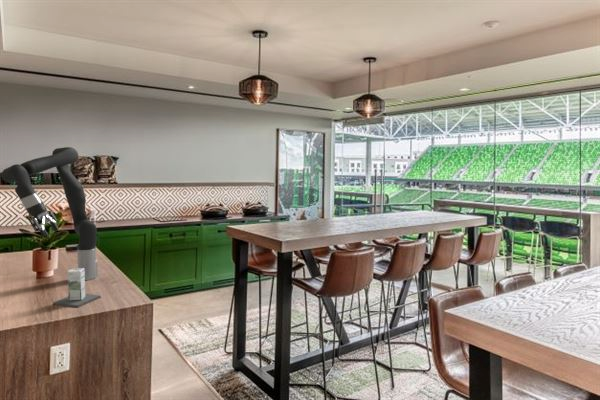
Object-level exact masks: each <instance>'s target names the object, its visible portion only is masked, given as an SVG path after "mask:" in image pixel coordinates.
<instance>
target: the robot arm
mask: <svg viewBox="0 0 600 400" xmlns="http://www.w3.org/2000/svg"><path fill="white" fill-rule="evenodd" d="M78 159H79V153H78V151H77V150H76V149H75V148H73V147H71V146H70V147H69V146H67V147H66V146H65V147H58V148H55V149H53V150H52V155H51V154H50V155H48V156H47V155H46V156H41V157H38V158H33V159H30V160H27V161H25V162H22V163H20V164H13V165H11V166H9V167H6V168H4V169H3V170H2V171H1V174H0V175H1V178H2V180H3V181H4V182H7V183H11V184H12V183H15V182H16V184H17V185H16V187H15V188H14V192H15V193H16V195H17V197H18V198H19V200H20V202H21V204H22V206H23V207H24V210H25V211H26V213H27V214H28V215H29V216H30V217H32V219H30V220H29V223H30V225H31V227H32V228H33V230H34V231H35V232H40V234H41V235H42V237H43V238H48V237H49V233H48V232H47V230H46V229H45V225H46V224H49V225H50V227H51V228H52V230H53V231H54V232H57V231H59V227H58V225H57V221H58V218H57V216H55V213H53V211H52V210H51V209H50V210H47V209H48V208H47V207H46V205H45V203H44V202H43V201H42V199H41V196H39V194H38V193H37V192H36V191H35V189H34V187H33V186H32V183H31V182H32V181H31V179H30V177H31V176H35V175H37V174H39V173H43V172H45V171H47V170H51V169H54V168H56V171H57V173H58V176H59V178H60V181H61V185H62V187H63V191H64V196H65V199H66V202H67V204H68V207H69V210H70V213H71V217H72V224H73V228H74V232H75V233H76V235H78V237H79V242H78V244H77V245H76V246H77V247H76V249H77V251H76V254H77V268H84V271H85V281H88V280H89V281H90V280H95V279H96V278H97V277H99V274H98V273H99V272H98V271H99V269H98V268H99V267H98V260H97V254H96V251H97V249H96V245H97V241H98V236H97V235H98V231H97V225H96V224H95V223H94V222H92V221H89V218H88V216H87V212H86V203H87V202H86V198H87V197H86V193H85V191H84V187H83V185H82V183H81V182H80V181H79V179H77V177H75V175H74V174H73V173H72V171H71V169H70V165H73V164H75V163H76V162H77V161H78Z"/></svg>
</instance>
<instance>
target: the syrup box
mask: <svg viewBox="0 0 600 400" xmlns="http://www.w3.org/2000/svg"><path fill="white" fill-rule="evenodd" d="M67 285H68V286H67V289H68V290H67V291H68V296H69V301H76V300H82V299H83V298H84V297H85V294H86V280H85V271H84V268H78V267H77V268H70V269H69V270H68V271H67Z"/></svg>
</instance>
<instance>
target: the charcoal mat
mask: <svg viewBox="0 0 600 400" xmlns="http://www.w3.org/2000/svg"><path fill="white" fill-rule="evenodd" d="M101 298H102V297H101V294H99V295H97V294H91V293H85V297H84V298H83V299H82V300H76V301H69V295H68V296H65V297H64V298H61V299H58V300H55V301H54V302H52V304H53V305H56V306H64V307H69V308H70V307H71V308H72V307H73V308H80V307H82V306H84V305H86V304H89V303H93V302H94V301H96V300H98V299H101Z"/></svg>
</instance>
